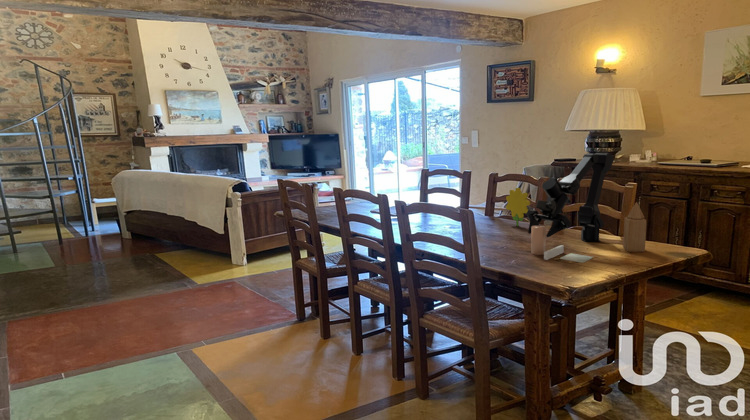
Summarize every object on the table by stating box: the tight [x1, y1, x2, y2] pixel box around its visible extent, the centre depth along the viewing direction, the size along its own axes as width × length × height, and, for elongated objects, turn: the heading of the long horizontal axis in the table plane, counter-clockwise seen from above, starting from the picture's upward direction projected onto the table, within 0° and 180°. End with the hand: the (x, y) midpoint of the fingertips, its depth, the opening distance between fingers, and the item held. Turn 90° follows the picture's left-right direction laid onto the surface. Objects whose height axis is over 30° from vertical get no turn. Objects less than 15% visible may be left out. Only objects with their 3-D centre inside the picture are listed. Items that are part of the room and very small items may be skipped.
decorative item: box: [505, 187, 531, 227], centre depth 252 cm, size 16×1×20 cm, turn 30°
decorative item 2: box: [622, 201, 647, 253], centre depth 196 cm, size 7×7×20 cm
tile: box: [559, 253, 594, 264], centre depth 189 cm, size 9×9×1 cm
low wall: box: [543, 244, 565, 261], centre depth 193 cm, size 14×1×3 cm, turn 133°
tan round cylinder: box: [530, 224, 547, 256], centre depth 198 cm, size 6×6×11 cm
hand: (537, 234), depth 198 cm, fingers open, 9 cm apart
